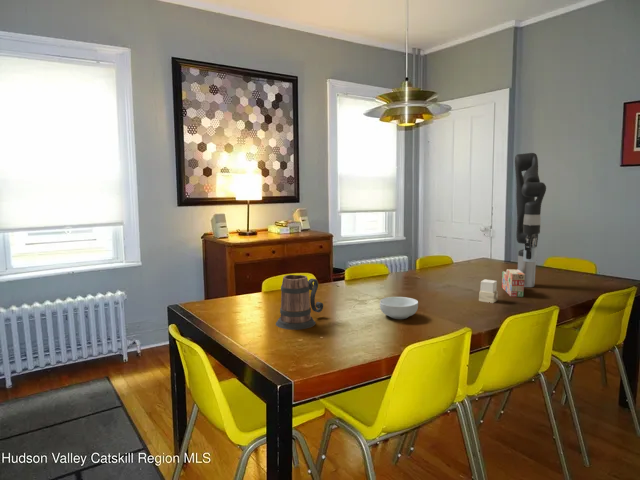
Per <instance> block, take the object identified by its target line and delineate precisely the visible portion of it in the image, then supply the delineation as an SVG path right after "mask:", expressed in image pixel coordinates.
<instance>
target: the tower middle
mask: <svg viewBox="0 0 640 480" xmlns="http://www.w3.org/2000/svg"><path fill="white" fill-rule="evenodd" d="M497 284H498V281H497V280H494V279H493V280H492V279H485V278H484V279H483V280H481V281H480V290H479V291H482V292H489V293H493V292H495V291H497Z"/></svg>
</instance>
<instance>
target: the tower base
mask: <svg viewBox="0 0 640 480" xmlns="http://www.w3.org/2000/svg"><path fill="white" fill-rule="evenodd" d="M498 298H499V291H498V290H496V291H495V292H493V293H489V292H482V291H480V290H479V293H478V302H483V303H489V302H490V304H494V303H496V302H497V301H498V300H499V299H498Z"/></svg>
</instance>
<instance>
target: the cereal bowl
mask: <svg viewBox="0 0 640 480" xmlns="http://www.w3.org/2000/svg"><path fill="white" fill-rule="evenodd" d="M379 308H380V310H381V312H382V314H384V315H385V316H388V317H389V318H391V319H395V320H404V319H407V318H409V317H411V316H413V315H415V314H416V312H417V311H418V308H419V301H418V300H417V299H415V298H412V297H406V296H387V297H384V298H381V299H380V301H379Z"/></svg>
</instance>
